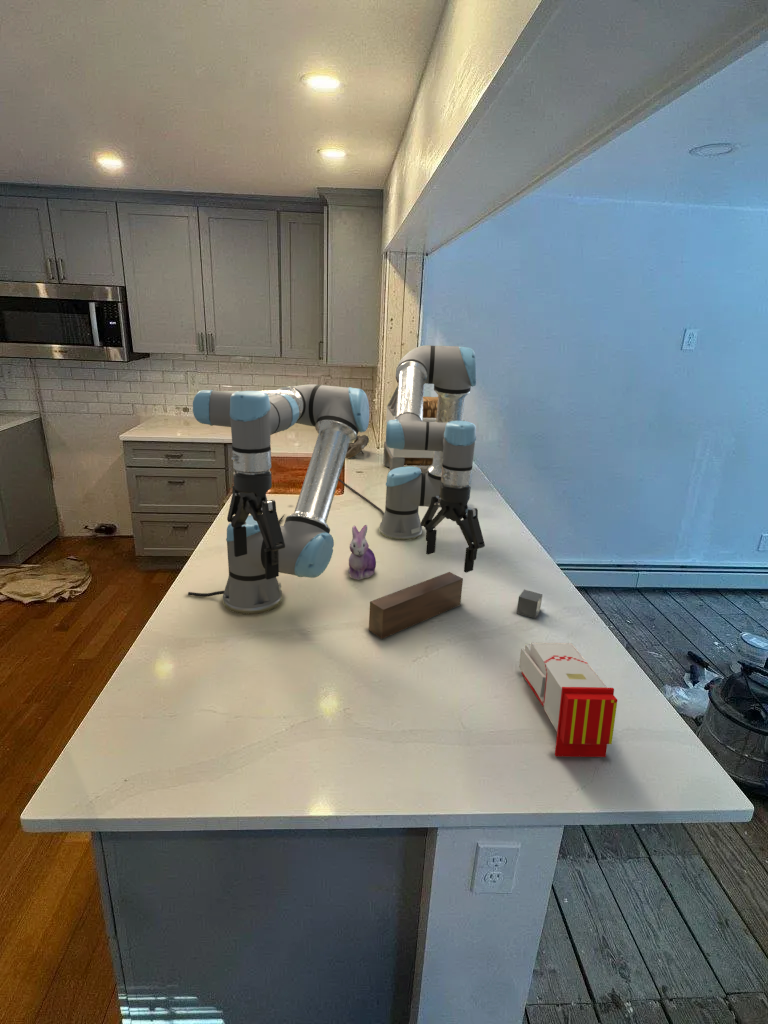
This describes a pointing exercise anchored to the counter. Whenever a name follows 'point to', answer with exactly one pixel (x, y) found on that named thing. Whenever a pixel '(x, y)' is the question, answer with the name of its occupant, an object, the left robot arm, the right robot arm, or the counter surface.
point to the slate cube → (529, 603)
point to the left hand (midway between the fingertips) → (255, 565)
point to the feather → (281, 519)
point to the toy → (570, 698)
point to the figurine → (361, 555)
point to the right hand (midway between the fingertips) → (448, 562)
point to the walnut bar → (414, 604)
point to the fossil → (357, 446)
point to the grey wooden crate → (410, 457)
